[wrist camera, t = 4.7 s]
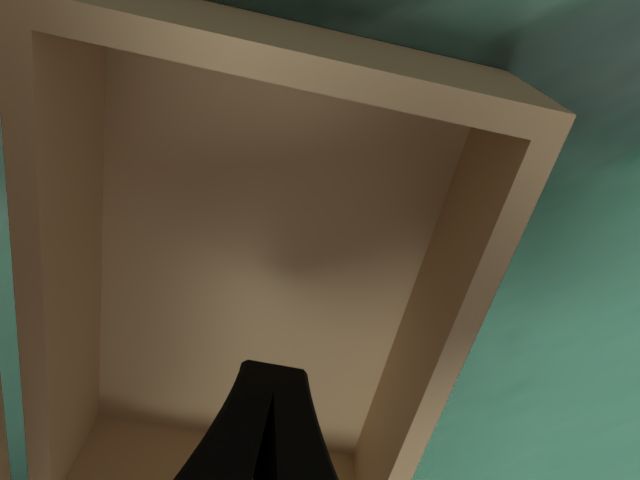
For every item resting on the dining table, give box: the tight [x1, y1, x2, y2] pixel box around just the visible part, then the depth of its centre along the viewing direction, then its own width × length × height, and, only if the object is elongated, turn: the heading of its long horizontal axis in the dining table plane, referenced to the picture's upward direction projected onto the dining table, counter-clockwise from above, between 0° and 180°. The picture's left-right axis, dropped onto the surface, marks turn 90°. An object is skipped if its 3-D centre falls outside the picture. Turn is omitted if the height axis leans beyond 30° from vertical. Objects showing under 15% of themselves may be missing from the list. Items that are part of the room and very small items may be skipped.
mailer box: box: [0, 0, 577, 480], centre depth 14 cm, size 14×10×4 cm
